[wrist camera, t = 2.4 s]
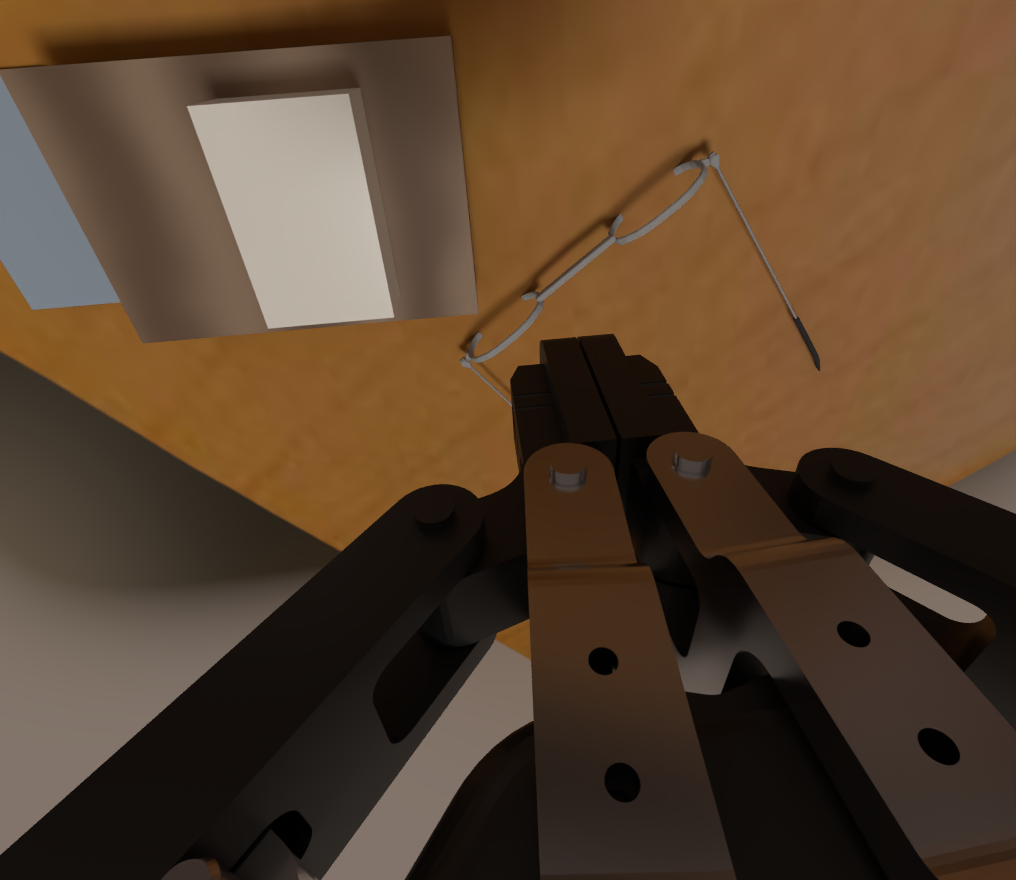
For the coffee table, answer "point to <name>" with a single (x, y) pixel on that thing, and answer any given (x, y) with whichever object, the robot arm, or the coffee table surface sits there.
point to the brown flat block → (194, 196)
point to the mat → (42, 225)
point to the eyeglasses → (702, 164)
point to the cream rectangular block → (302, 203)
